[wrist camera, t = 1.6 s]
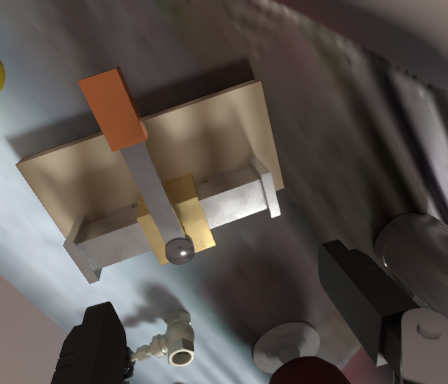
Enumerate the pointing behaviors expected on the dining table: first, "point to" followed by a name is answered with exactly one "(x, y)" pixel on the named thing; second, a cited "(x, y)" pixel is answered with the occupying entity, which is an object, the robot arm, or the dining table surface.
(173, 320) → the valve
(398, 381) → the robot arm
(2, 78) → the lemon
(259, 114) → the valve board
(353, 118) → the dining table surface
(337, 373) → the mate gourd
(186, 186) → the pipe valve
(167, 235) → the valve lever
